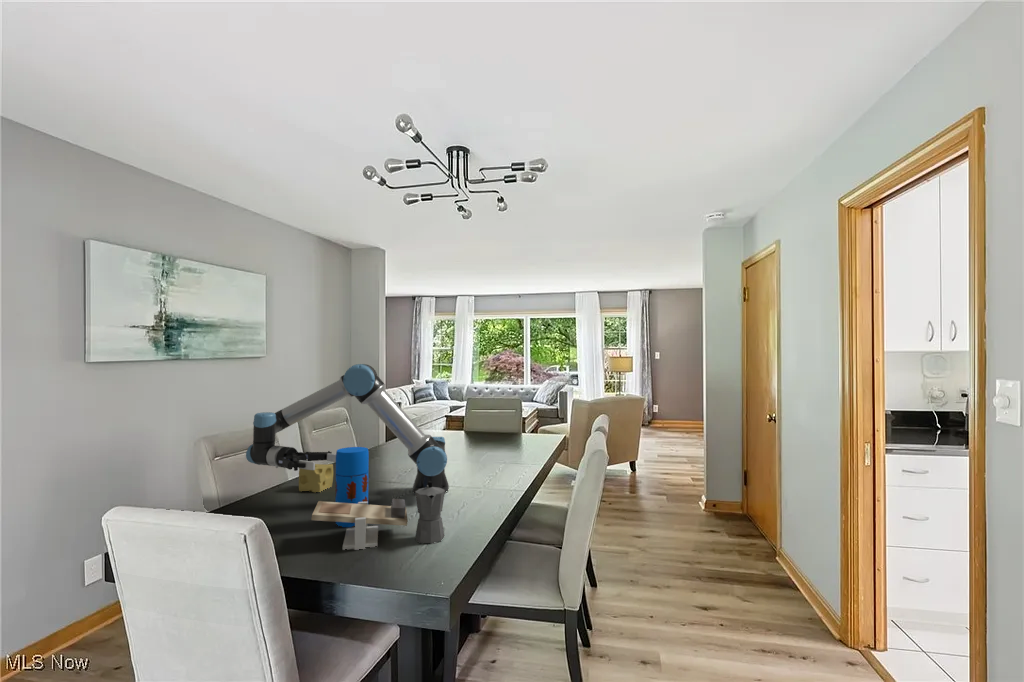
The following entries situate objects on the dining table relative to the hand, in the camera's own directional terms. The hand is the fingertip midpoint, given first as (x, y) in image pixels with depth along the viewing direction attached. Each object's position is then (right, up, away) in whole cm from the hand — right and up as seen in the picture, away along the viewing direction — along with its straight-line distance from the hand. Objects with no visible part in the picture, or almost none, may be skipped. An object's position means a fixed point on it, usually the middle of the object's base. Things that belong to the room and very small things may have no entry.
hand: (328, 462), depth 176 cm
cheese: (-20, -21, +38) cm, 48 cm away
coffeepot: (+39, -20, -18) cm, 47 cm away
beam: (+18, -11, -19) cm, 29 cm away
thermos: (+10, -20, -4) cm, 22 cm away
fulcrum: (+18, -19, -19) cm, 33 cm away
